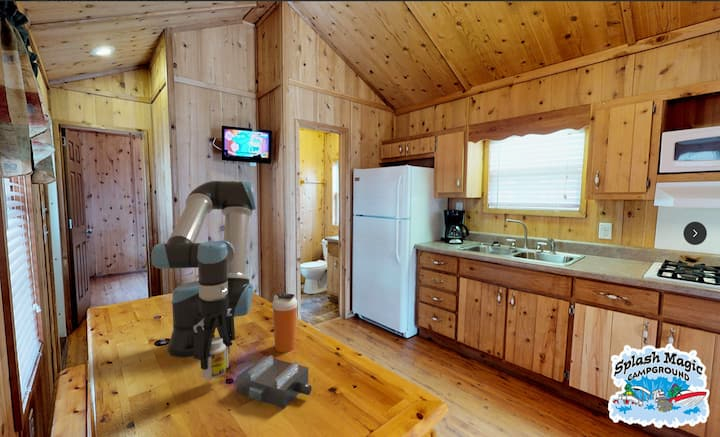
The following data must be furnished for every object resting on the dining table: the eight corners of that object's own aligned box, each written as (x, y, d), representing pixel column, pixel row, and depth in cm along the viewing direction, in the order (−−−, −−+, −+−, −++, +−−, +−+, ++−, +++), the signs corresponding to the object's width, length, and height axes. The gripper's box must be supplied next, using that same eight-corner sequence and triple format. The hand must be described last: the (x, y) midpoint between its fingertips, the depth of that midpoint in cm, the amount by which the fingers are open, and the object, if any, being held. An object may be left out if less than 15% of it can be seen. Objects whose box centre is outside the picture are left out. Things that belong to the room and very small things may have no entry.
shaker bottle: (291, 355, 110) (291, 299, 108) (267, 352, 112) (267, 297, 110) (301, 343, 119) (301, 291, 117) (279, 340, 121) (278, 289, 119)
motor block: (231, 397, 88) (231, 375, 87) (264, 370, 100) (264, 351, 100) (292, 418, 80) (292, 393, 80) (320, 386, 93) (320, 365, 92)
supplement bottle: (203, 380, 89) (202, 346, 88) (208, 368, 95) (207, 336, 94) (224, 377, 91) (223, 344, 89) (228, 366, 96) (227, 334, 95)
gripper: (195, 310, 80) (198, 395, 83) (247, 288, 97) (248, 358, 100) (174, 305, 83) (178, 387, 86) (228, 284, 100) (230, 353, 103)
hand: (216, 371), depth 93 cm, fingers closed on supplement bottle, 6 cm apart
